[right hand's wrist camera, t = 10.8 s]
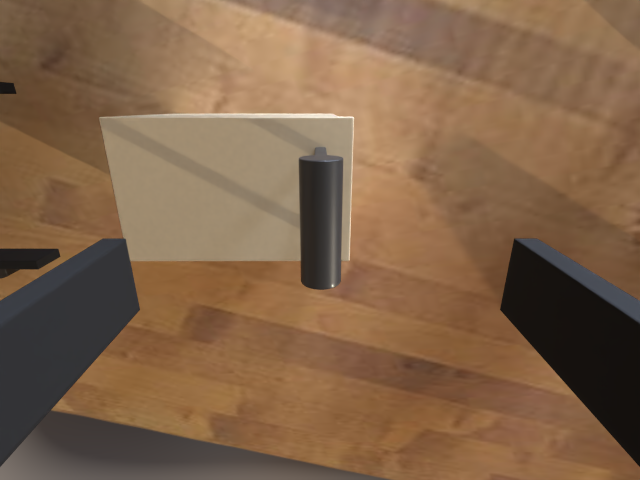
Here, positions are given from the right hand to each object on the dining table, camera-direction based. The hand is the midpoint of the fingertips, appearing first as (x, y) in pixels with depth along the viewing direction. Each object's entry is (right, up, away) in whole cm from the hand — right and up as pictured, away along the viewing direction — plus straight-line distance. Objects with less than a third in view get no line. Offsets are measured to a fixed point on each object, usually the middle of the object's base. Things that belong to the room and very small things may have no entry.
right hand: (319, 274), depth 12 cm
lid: (-6, +5, +12) cm, 14 cm away
